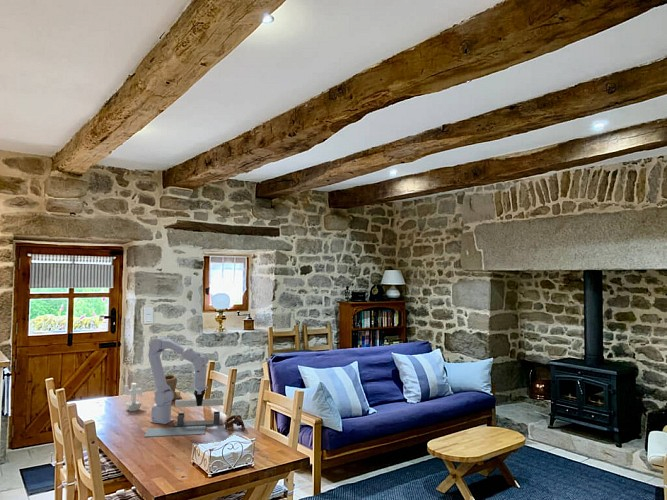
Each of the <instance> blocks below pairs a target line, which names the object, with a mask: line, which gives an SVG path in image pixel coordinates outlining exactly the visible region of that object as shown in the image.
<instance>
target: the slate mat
mask: <svg viewBox="0 0 667 500" xmlns="http://www.w3.org/2000/svg"><path fill="white" fill-rule="evenodd" d="M206 427H207V426H192V427H174V426H172V427H154V428H153V427H152V428H149V427H148V428H147V430H146V432H145V434H144V436H143V437H144V438H157V437H175V436H176V437H177V436H193V435H194V436H196V435H197V436H199V434H200V435H205V434H206Z"/></svg>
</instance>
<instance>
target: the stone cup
mask: <svg viewBox="0 0 667 500" xmlns="http://www.w3.org/2000/svg"><path fill="white" fill-rule="evenodd" d="M165 379H166V382H167V385H168V386H170V388H171V390H172V392H173V393H174V398H173V400H179V399H181V392H180V391H176V388H177V383H178V379H177V376H176V375H175V374H166V375H165Z"/></svg>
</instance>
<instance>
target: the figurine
mask: <svg viewBox="0 0 667 500" xmlns="http://www.w3.org/2000/svg"><path fill="white" fill-rule="evenodd" d="M130 385H131V387H130V389H129V384H125V385H124V394H125V395H126V396H130V395H131V396H130V401H129V402H124V405H125V406H126V409H127V410H128V411H129V412H134V411H139V410H140V408H141V406H142V402H140V401H138V400H137V395H138V398H139V399H141V398H143V388H141V387H139V388H137V387H138V386H137V385H138V384H137V383H136V382H131V384H130Z"/></svg>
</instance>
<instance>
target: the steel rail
mask: <svg viewBox="0 0 667 500" xmlns="http://www.w3.org/2000/svg"><path fill="white" fill-rule="evenodd" d="M174 403H175V404H174V407H175V408H187V407H188V408H191V407H194V408H195V407H198V406H197V403H196V398H190V399H189V398H188V399H186V398H185V399H175V402H174ZM213 406H215V407H219V406H224V398H223V397H222V398H221V397H220V398H203V400H202V405H201V406H200V407H213Z"/></svg>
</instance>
